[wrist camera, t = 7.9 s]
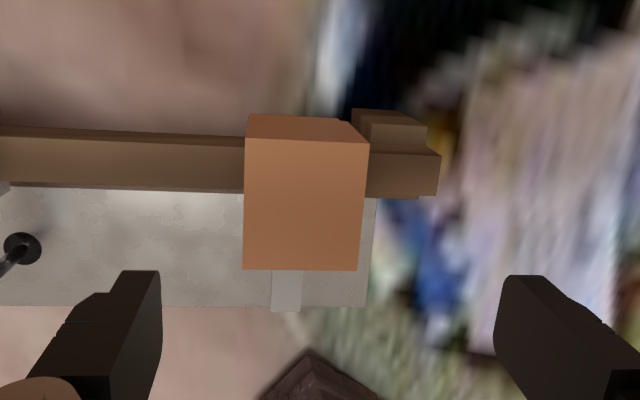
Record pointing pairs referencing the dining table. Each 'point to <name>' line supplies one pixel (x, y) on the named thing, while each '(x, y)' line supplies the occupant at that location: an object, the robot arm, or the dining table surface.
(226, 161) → the beam
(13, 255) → the block
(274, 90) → the dining table surface
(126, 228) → the bolt plate
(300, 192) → the block
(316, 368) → the hammer
